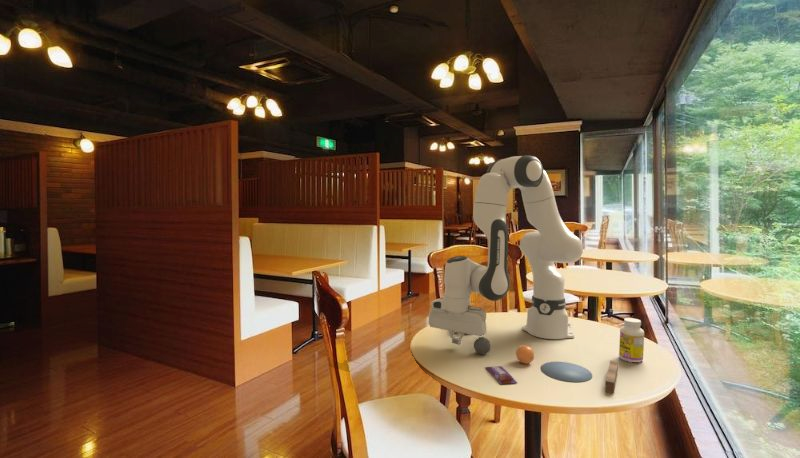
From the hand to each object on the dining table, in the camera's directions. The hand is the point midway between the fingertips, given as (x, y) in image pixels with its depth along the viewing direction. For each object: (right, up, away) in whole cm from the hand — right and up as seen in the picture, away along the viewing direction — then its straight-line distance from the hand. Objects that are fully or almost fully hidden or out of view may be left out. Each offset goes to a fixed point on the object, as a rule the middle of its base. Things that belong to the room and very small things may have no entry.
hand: (456, 343), depth 136 cm
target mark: (+30, -3, -19) cm, 35 cm away
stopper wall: (+40, -3, -25) cm, 47 cm away
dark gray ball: (+8, +1, -5) cm, 9 cm away
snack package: (+10, -4, -21) cm, 23 cm away
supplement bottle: (+55, -3, -9) cm, 55 cm away
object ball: (+20, 0, -12) cm, 23 cm away
